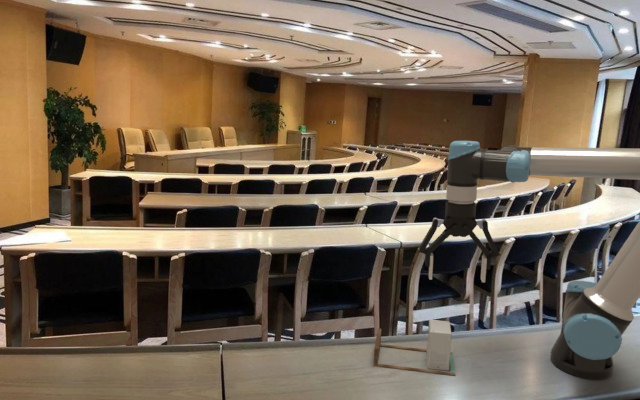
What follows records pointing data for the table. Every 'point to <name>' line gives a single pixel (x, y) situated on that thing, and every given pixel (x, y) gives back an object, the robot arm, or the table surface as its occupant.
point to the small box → (439, 345)
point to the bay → (378, 345)
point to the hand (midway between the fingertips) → (456, 279)
